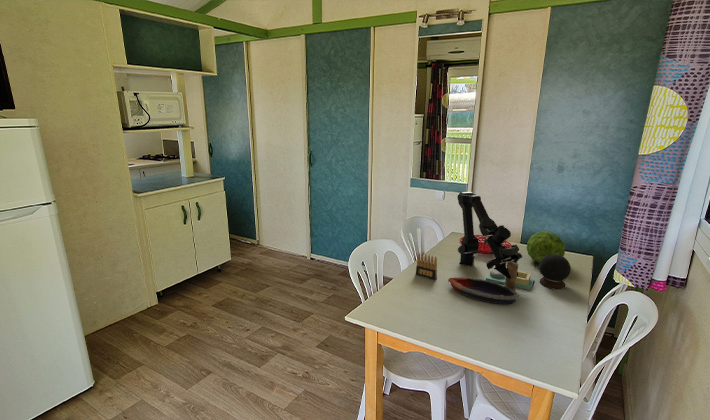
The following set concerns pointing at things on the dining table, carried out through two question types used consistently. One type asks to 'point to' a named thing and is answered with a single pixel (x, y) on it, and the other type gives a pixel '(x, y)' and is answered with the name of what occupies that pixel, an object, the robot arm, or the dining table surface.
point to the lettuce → (544, 245)
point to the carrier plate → (521, 281)
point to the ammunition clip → (426, 267)
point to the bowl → (486, 244)
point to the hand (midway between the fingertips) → (513, 277)
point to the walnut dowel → (512, 270)
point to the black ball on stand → (554, 271)
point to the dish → (483, 290)
